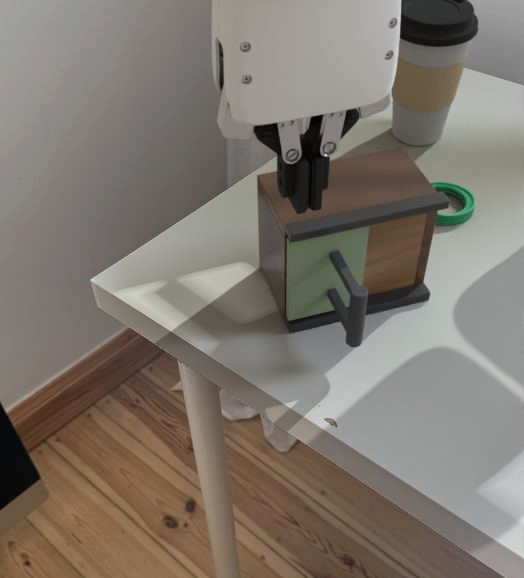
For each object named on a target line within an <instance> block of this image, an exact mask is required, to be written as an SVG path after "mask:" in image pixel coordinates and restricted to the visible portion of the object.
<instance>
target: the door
mask: <svg viewBox="0 0 524 578" xmlns="http://www.w3.org/2000/svg"><path fill="white" fill-rule="evenodd" d="M368 233H369V226H365V227H360V228H355V229H351V230H346V231H342V232H337V233H332V234H328V235H323V236H319V237H314V238H309V239H305V240H300V241H295V242H291V241H290V239H289V238H287V284H286V317H287V319H288V321H291V320H295V319H299V318H303V317H308V316H312V315H316V314H320V313H324V312H329V311H333V310H335V312H336V314H337V315H338V317H339V319H340V321H339V322H340V323H341V325H342V327H343V329H344V331H345V344H346V345H347V346H348V347H350V348H358V347H361V345H362V344H363V337H364V331H365V330H364V328H365V321H366V315H365V314H366V306H367V299H368V289H367V288H366V287H365V286H362V284H363V276H364V267H365V259H366V250H367V242H368ZM346 307H349V311H348V310H347V308H346Z"/></svg>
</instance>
